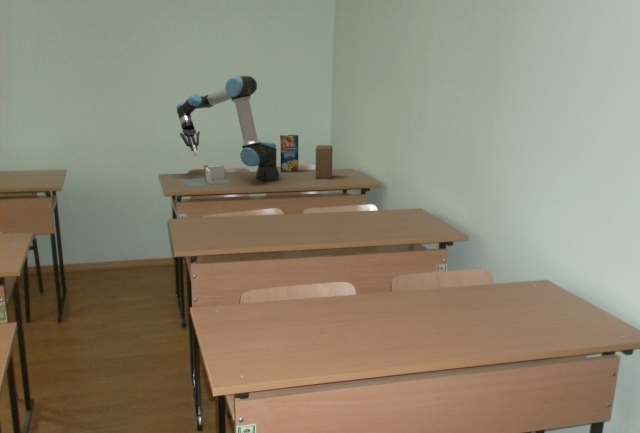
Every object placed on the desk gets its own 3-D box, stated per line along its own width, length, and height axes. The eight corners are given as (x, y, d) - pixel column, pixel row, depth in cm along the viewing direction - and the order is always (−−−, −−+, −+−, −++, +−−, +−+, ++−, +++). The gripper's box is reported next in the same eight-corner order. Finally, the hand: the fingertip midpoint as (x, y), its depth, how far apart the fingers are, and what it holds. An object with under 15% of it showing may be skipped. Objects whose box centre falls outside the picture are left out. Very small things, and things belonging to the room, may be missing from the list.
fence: (223, 177, 396) (223, 163, 394) (224, 178, 394) (224, 164, 392) (204, 179, 390) (203, 165, 388) (205, 180, 389) (204, 165, 386)
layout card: (220, 177, 401) (220, 176, 401) (232, 183, 382) (232, 182, 382) (178, 180, 389) (178, 179, 389) (188, 187, 370) (188, 186, 370)
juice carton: (298, 170, 427) (298, 134, 421) (298, 172, 420) (298, 136, 414) (280, 170, 426) (280, 134, 420) (280, 172, 419) (280, 136, 413)
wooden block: (332, 176, 407) (332, 145, 402) (331, 178, 397) (331, 147, 392) (317, 175, 408) (317, 145, 403) (315, 178, 398) (315, 147, 393)
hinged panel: (205, 179, 388) (205, 167, 386) (207, 179, 389) (207, 167, 387) (209, 183, 376) (208, 171, 374) (211, 183, 377) (210, 171, 375)
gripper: (196, 127, 403) (204, 157, 393) (176, 128, 398) (184, 158, 388) (198, 120, 397) (207, 150, 387) (177, 121, 392) (186, 151, 382)
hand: (195, 154), depth 387 cm, fingers closed
